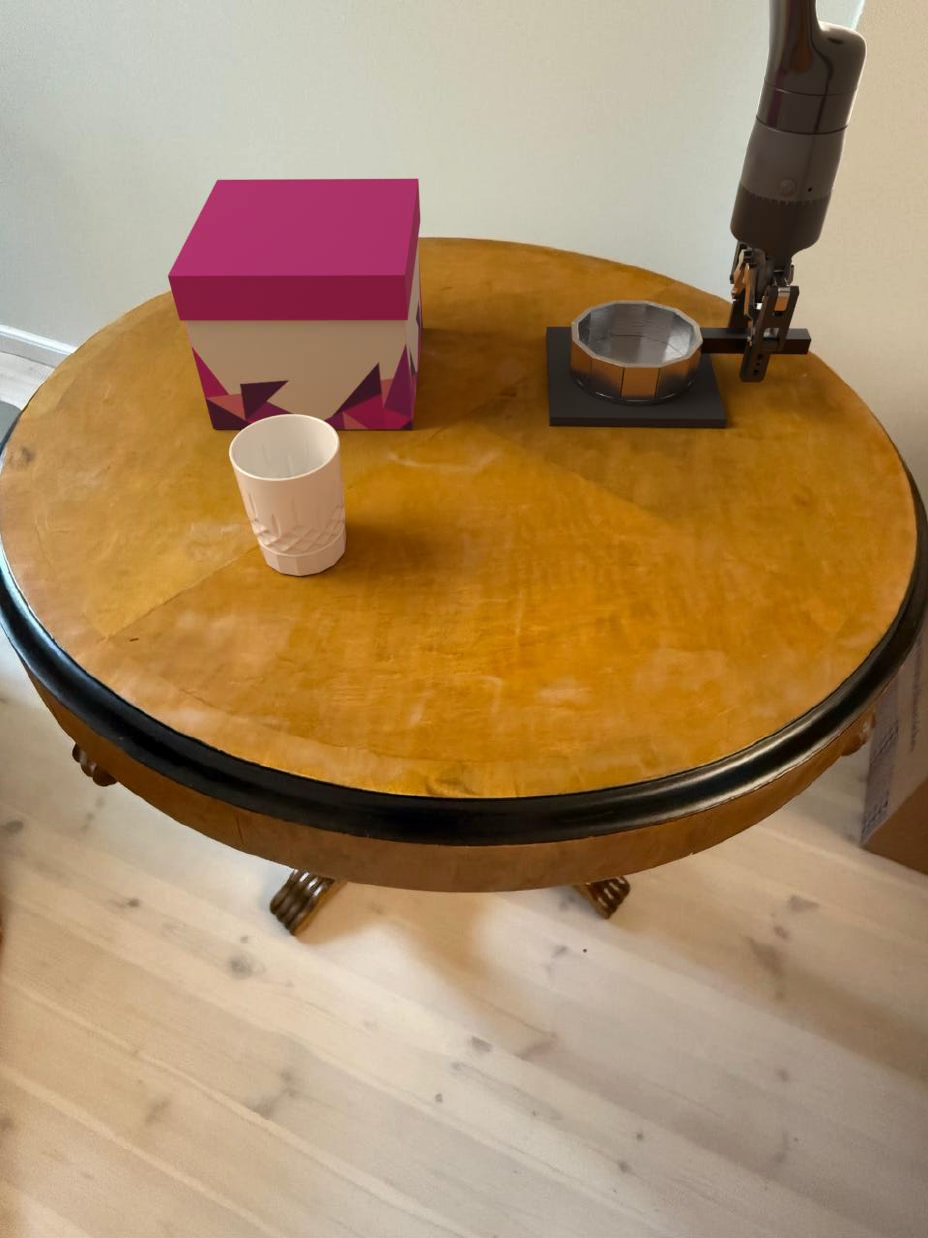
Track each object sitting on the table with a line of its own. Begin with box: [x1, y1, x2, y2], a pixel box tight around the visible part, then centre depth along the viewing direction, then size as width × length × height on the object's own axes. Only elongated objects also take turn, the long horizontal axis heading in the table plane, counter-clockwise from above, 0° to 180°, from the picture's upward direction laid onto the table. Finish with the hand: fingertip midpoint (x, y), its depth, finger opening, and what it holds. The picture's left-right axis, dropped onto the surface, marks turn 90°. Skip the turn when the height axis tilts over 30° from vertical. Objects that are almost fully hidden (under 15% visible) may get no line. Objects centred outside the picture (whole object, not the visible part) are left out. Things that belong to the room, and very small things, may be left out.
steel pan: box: [569, 299, 813, 406], centre depth 85 cm, size 22×12×4 cm, turn 88°
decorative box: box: [167, 178, 424, 430], centre depth 83 cm, size 19×19×15 cm
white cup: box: [228, 414, 347, 577], centre depth 68 cm, size 8×8×10 cm
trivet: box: [545, 326, 728, 429], centre depth 87 cm, size 16×16×1 cm
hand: (743, 357), depth 85 cm, fingers open, 7 cm apart
